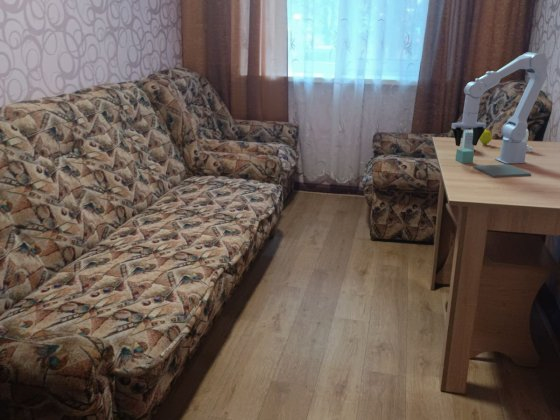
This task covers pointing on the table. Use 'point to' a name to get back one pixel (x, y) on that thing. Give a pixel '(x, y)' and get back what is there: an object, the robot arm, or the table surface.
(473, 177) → the table surface
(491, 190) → the table surface
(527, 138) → the cable organizer
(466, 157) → the cube
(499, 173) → the grey blue flat plate
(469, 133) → the medicine box
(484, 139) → the fruit
